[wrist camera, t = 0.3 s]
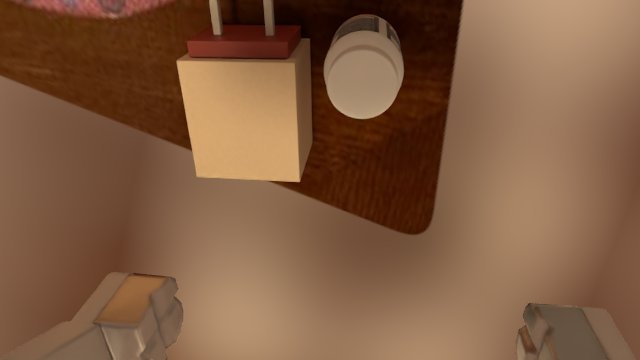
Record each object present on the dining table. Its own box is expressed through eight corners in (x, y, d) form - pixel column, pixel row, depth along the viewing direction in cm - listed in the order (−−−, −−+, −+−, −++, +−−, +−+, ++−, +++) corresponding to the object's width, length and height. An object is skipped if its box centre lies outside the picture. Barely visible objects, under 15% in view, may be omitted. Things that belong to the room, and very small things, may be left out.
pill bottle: (323, 69, 38) (307, 111, 30) (344, 2, 35) (332, 28, 27) (385, 90, 39) (386, 138, 30) (411, 25, 36) (420, 58, 27)
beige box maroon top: (211, 36, 38) (175, 60, 32) (310, 38, 37) (294, 62, 31) (224, 138, 43) (196, 177, 36) (312, 141, 42) (299, 182, 35)
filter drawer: (204, -39, 34) (174, -33, 29) (298, -40, 33) (284, -33, 28) (225, 120, 41) (203, 147, 36) (304, 122, 40) (293, 151, 35)
